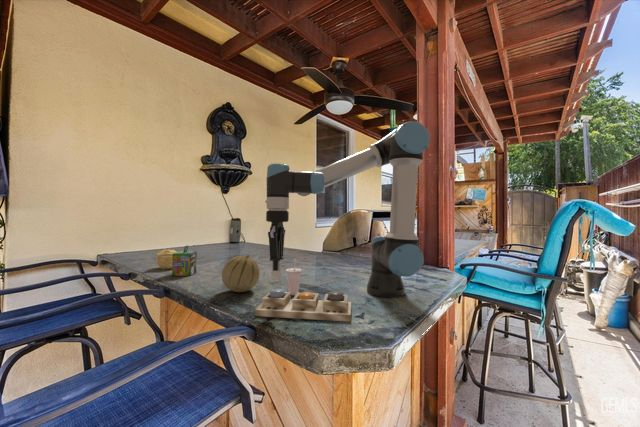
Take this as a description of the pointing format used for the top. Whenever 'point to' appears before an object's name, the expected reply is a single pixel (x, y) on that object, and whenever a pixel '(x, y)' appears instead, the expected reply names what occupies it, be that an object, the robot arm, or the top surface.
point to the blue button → (277, 293)
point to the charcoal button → (335, 296)
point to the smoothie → (293, 279)
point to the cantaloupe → (240, 274)
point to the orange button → (306, 295)
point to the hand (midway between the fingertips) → (276, 279)
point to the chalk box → (184, 263)
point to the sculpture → (165, 259)
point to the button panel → (305, 308)
